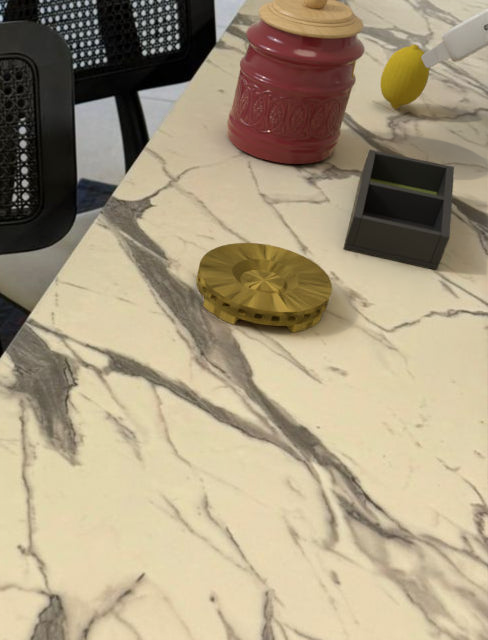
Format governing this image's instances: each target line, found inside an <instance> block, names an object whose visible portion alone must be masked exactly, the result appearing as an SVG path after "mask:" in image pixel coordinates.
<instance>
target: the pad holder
mask: <svg viewBox="0 0 488 640" xmlns="http://www.w3.org/2000/svg"><path fill="white" fill-rule="evenodd" d="M454 174H455V166H452V165H448V164H447V165H446V164H443V163H437V162H433V161H428V160H423V159H418V158H414V157H409V156H403V155H398V154H393V153H388V152H384V151H379V150H375V149H374V150H373V149H368V152H367V155H366V158H365V162H364V165H363V167H362V170H361V173H360V177H359V181H358V185H357V188H356V193H355V198H354V202H353V206H352V210H351V214H350V219H349V223H348V227H347V232H346V236H345V240H344V245H343V250H346V251H350V252H354V253H360V254H364V255H368V256H371V257H377V258H381V259H386V260H391V261H395V262H399V263H404V264H408V265H413V266H416V267H420V268H421V267H422V268H425V269H430V270H434V271H437V270H438V268H439V265H440V262H441V260H442V258H443V256H444V253H445V250H446V248H447V245H448V242H449V239H450V234H451V220H452V219H451V218H452V204H453V192H454V191H453V190H454V176H455V175H454Z"/></svg>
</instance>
